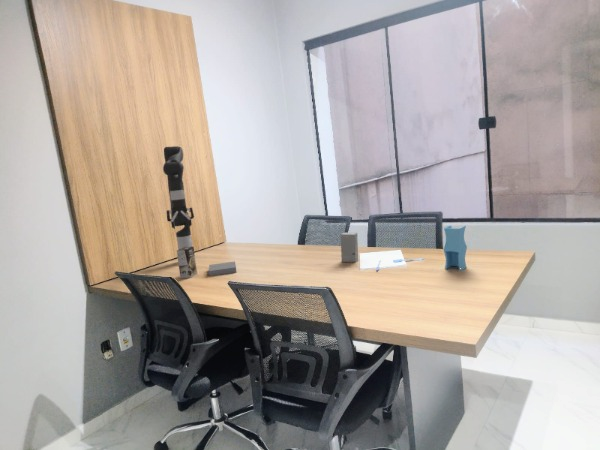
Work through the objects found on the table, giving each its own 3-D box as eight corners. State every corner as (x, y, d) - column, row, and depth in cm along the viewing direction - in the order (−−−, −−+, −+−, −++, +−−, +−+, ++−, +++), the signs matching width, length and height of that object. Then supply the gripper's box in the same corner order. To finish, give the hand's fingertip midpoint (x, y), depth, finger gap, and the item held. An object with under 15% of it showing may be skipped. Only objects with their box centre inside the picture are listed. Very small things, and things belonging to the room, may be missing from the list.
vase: (467, 266, 200) (465, 225, 197) (460, 270, 194) (459, 228, 191) (451, 265, 205) (449, 225, 202) (444, 269, 200) (442, 228, 196)
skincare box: (341, 262, 231) (339, 234, 229) (345, 259, 238) (342, 232, 235) (356, 262, 228) (354, 234, 225) (359, 259, 234) (357, 231, 232)
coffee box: (190, 278, 230) (186, 249, 228) (180, 278, 231) (175, 250, 229) (197, 273, 239) (194, 246, 236) (187, 273, 240) (183, 246, 238)
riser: (210, 269, 244) (209, 264, 244) (235, 266, 247) (234, 261, 246) (209, 276, 230) (208, 271, 229) (236, 272, 232) (235, 267, 232)
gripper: (191, 196, 233) (195, 225, 236) (165, 199, 231) (169, 228, 233) (190, 197, 226) (194, 226, 228) (163, 200, 223) (168, 230, 226)
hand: (182, 227), depth 231 cm, fingers open, 8 cm apart
